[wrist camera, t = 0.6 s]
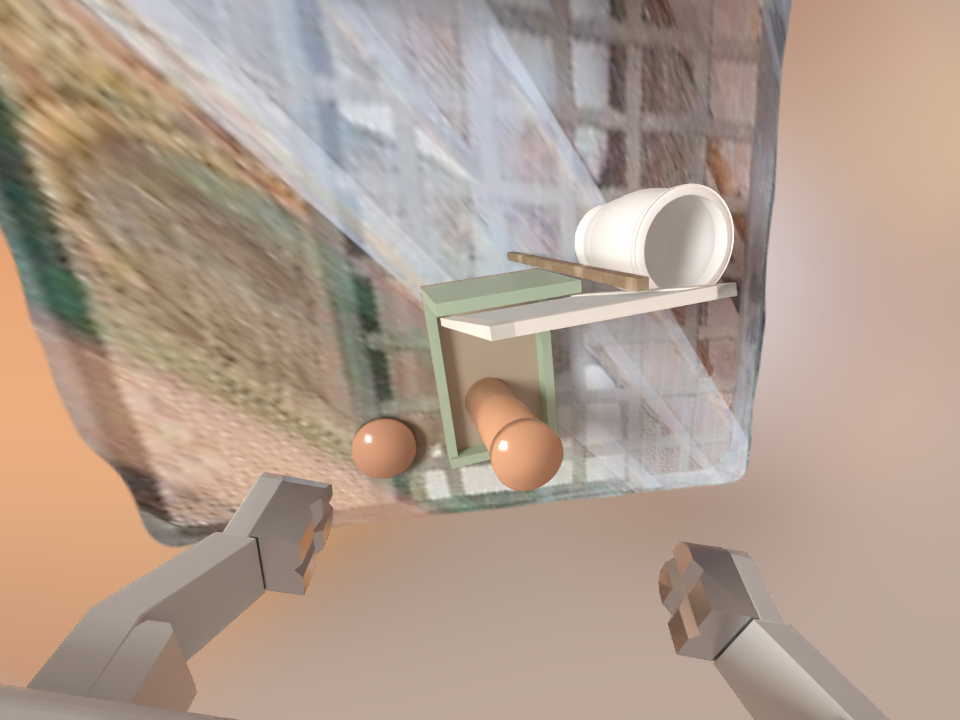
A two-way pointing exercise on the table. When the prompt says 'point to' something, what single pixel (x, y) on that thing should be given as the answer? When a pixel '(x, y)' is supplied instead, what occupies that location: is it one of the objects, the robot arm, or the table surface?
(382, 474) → the terracotta round disc
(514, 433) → the orange-brown capped cylinder
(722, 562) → the robot arm
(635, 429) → the table surface
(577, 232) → the jar
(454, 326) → the lid
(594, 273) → the prop stick
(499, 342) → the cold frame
